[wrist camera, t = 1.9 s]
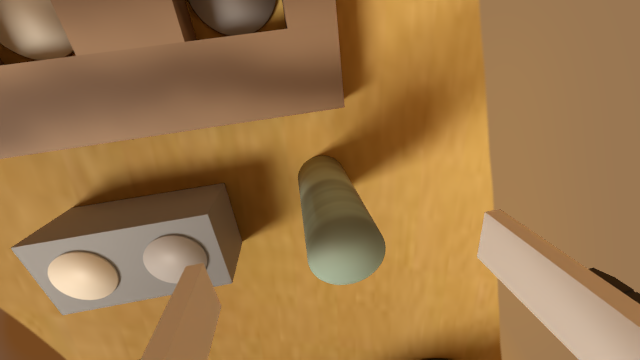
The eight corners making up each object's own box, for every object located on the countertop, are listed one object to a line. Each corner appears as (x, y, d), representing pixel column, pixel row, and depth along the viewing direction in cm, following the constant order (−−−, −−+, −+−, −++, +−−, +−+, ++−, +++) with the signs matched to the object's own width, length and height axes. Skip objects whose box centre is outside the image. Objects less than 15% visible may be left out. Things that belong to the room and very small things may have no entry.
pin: (346, 194, 23) (386, 276, 14) (302, 202, 23) (313, 291, 14) (342, 152, 21) (384, 214, 12) (294, 159, 21) (301, 228, 12)
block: (242, 241, 24) (231, 285, 19) (106, 266, 23) (60, 317, 18) (224, 183, 21) (206, 216, 16) (71, 208, 20) (7, 250, 16)
